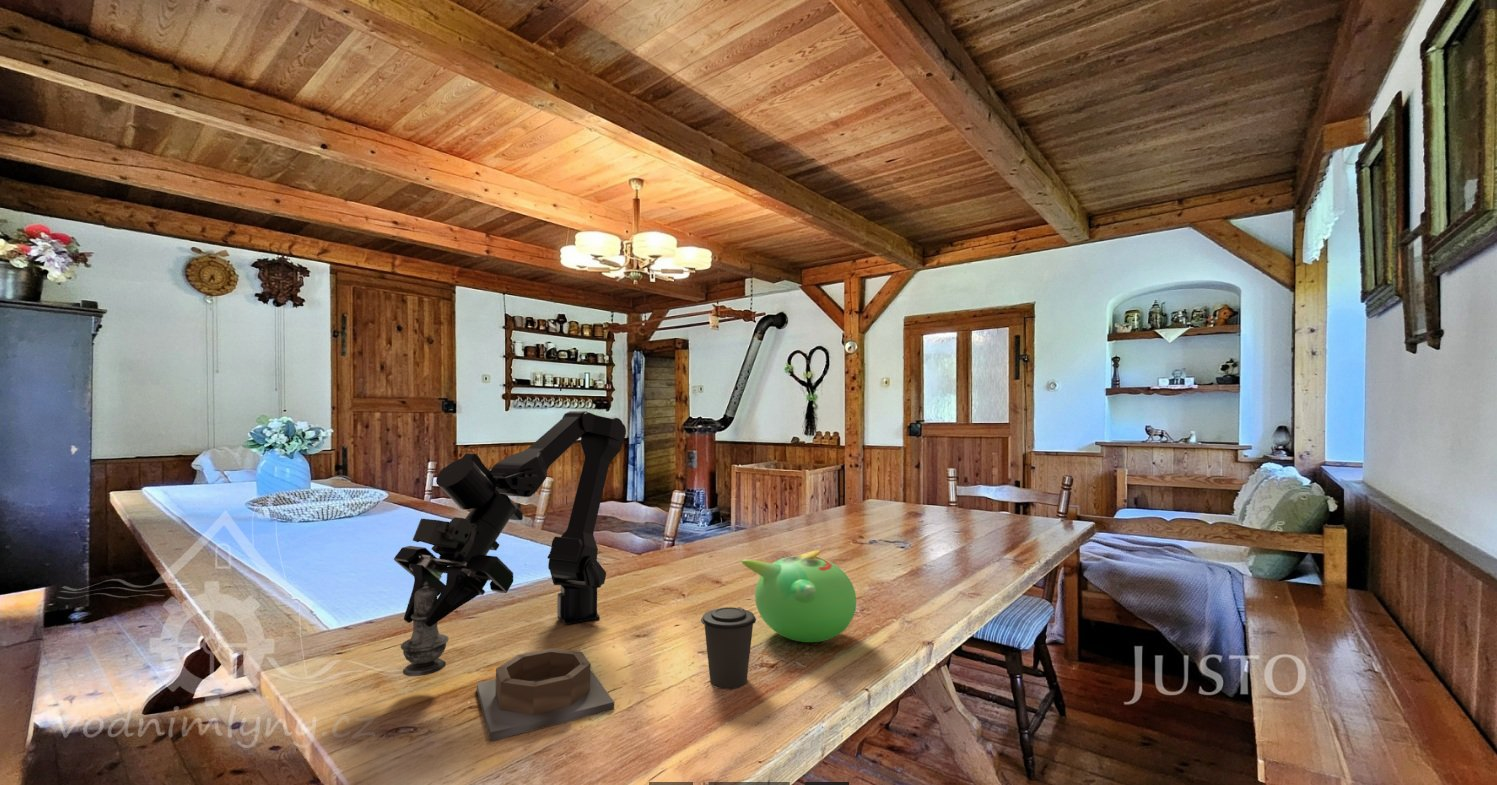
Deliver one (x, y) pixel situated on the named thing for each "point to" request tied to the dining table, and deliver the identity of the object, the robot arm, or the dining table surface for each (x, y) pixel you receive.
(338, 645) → the dining table surface
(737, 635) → the coffee cup
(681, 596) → the dining table surface
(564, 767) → the dining table surface
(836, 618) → the round green monster
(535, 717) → the socket
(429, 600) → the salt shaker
